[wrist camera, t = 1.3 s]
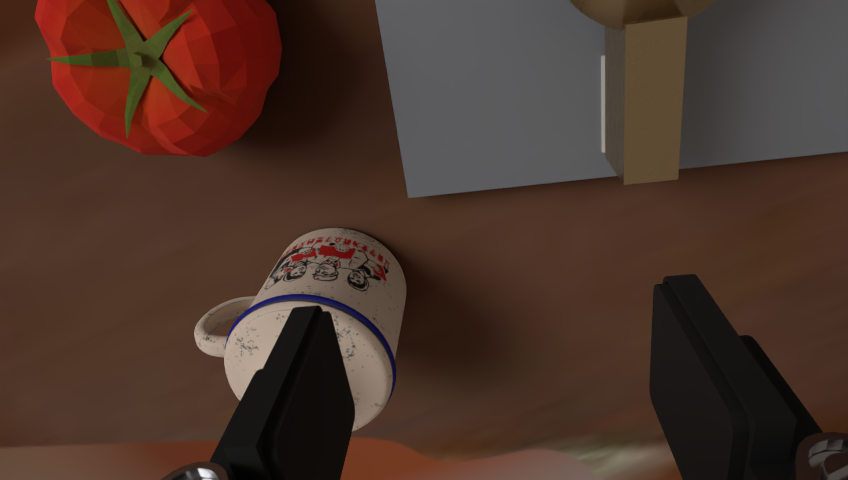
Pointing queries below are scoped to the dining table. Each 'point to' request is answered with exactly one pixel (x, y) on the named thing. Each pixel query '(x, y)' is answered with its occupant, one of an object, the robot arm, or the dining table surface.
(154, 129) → the tomato
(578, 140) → the base
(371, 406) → the teacup with lid
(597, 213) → the dining table surface
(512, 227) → the dining table surface
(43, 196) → the dining table surface
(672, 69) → the lock handle
